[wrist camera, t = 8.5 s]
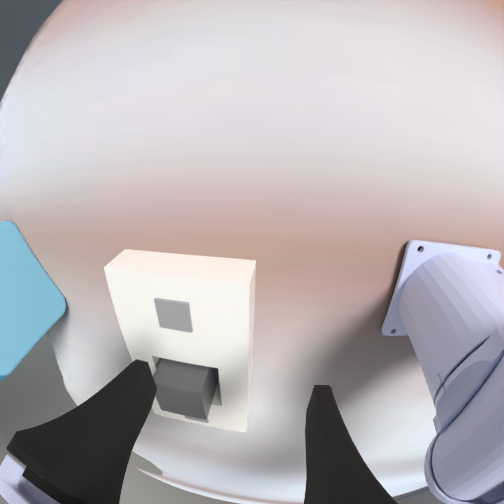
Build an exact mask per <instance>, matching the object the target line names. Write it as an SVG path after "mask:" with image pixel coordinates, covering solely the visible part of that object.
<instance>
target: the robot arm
mask: <svg viewBox="0 0 504 504" xmlns="http://www.w3.org/2000/svg"><path fill="white" fill-rule="evenodd" d="M419 246H422V248H421V249H420V250H418V251H417V249H418V247H419ZM488 255H489V256H488ZM487 256H488V257H487ZM500 257H501V254H500V252H499V251H498V250H493V249H486V248H478V247H470V246H463V245H455V244H446V243H438V242H429V241H421V240H411V241H409V243H408V244H407V246H406V250H405V254H404V258H403V262H402V266H401V269H400V273H399V277H398V280H397V283H396V287H395V290H394V293H393V297H392V300H391V303H390V306H389V309H388V312H387V315H386V318H385V320H384V323H383V326H382V329H381V331H382V334H383V335H384V336H409V339H410V341H411V343H412V346H413V348H414V351H415V353H416V356H417V358H418V361H419V363H420V366H421V368H422V371H423V374H424V376H425V379H426V382H427V385H428V387H429V390H430V393H431V396H432V399H433V402H434V405H435V409H436V412H437V413H436V416H435V417H434V419H433V422H434V425H435V429H436V432H437V435H436V436H435V437H434V438H433V440H432V442H431V443H430V445H429V447H428V450H427V452H426V456H425V463H424V473H425V478H426V482H427V484H428V487H429V489H430V490H431V492H432V493H433V494H434V495H435V496H436V497H437V498H438V499H439V500H440V501H442V502H443V503H446V504H504V270H503V269H502V268H501V267H500V266H499V265H498V263H499V260H500ZM393 329H395V330H393ZM392 330H393V331H392ZM156 392H157V387H156V384H155V381H154V378H153V375H152V373H151V370H150V367H149V364H148V362H146V361H142V360H138V359H136V360H134V361H133V362H132V363H131V364H130V365H129V366H128V367H126V368H125V369H124V370H123V371H122V372H121V373H120V374H119V375H117V376H116V377H115V378H114V379H113V380H112V381H111V382H109V383H108V384H107V385H106V386H105V387H103V388H102V389H101V390H100V391H99V392H97V393H96V394H95V395H93V396H92V397H91V398H89V399H88V400H87V401H85V402H84V403H82V404H81V405H79V406H78V407H76V408H75V409H73V410H71V411H69V412H68V413H66V414H64V415H62V416H60V417H58V418H56V419H54V420H52V421H49V422H47V423H44V424H42V425H39V426H36V427H33V428H29V429H25V430H22V431H17V432H16V433H15V435H14V437H13V438H12V440H11V441H10V443H9V445H8V446H7V450H8V451H9V452H10V453H11V454H12V455H13V456H15V457H16V458H17V459H18V460H19V461H21V462H22V463H23V464H24V465H26V466H27V467H26V469H25V468H24V467H23V466H21V465H20V464H19V463H18V462H16V461H15V460H14V459H13V458H11V457H10V456H9V455H7V456H6V457H5V459H4V461H3V462H2V464H1V466H0V494H1V495H2V496H3V497H4V498H5V499H6V500H7V502H8V503H9V504H119V500H120V494H121V489H122V484H123V479H124V475H125V472H126V468H127V464H128V461H129V458H130V455H131V451H132V449H133V446H134V444H135V442H136V439H137V437H138V435H139V433H140V431H141V429H142V427H143V425H144V423H145V420H146V418H147V416H148V414H149V412H150V410H151V408H152V405H153V402H154V398H155V395H156ZM305 439H306V468H307V479H306V491H305V500H304V504H398V503H397V502H396V501H395V500H394V499H393V498H392V497H391V496H390V495H389V494H388V493H387V491H386V490H385V489H384V488H383V487H382V485H381V484H380V483H379V482H378V480H377V479H376V478H375V477H374V475H373V474H372V472H371V471H370V469H369V468H368V467H367V465H366V463H365V462H364V460H363V459H362V457H361V455H360V454H359V452H358V450H357V448H356V446H355V445H354V443H353V441H352V439H351V437H350V435H349V433H348V431H347V428H346V426H345V424H344V422H343V419H342V417H341V415H340V412H339V409H338V407H337V404H336V401H335V398H334V395H333V392H332V389H331V387H330V386H329V385H315V386H314V389H313V392H312V395H311V398H310V402H309V405H308V408H307V412H306V427H305Z"/></svg>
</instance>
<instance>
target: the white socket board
mask: <svg viewBox="0 0 504 504" xmlns="http://www.w3.org/2000/svg"><path fill="white" fill-rule="evenodd" d="M104 270H105V274H106V278H107V282H108V286H109V290H110V294H111V298H112V301H113V305H114V308H115V312H116V315H117V318H118V321H119V325H120V328H121V331H122V334H123V337H124V340H125V343H126V345H127V348H128V351H129V354H130V357H131V359H132V362H133V361H134V360H136V359H138V360H142V361H146V362H148V364H149V367H150V370H151V373H152V375H154V373H155V371H156V369H157V367H158V365H159V363H160V361H161V359H162V358H165V359H169V360H174V361H179V362H184V363H190V364H195V365H201V366H207V367H214V368H218V372H219V380H218V384H217V387H216V390H215V394H214V397H213V401H212V404H211V407H210V411H209V414H208V418H207V420H204V419H198V418H193V417H189V416H184V415H180V414H175V413H171V412H167V411H163V410H161V408H160V406H159V404H158V401H157V399H156V397H155V398H154V402H153V405H152V410H153V412H154V414H157V415H160V416H164V417H168V418H172V419H176V420H180V421H184V422H189V423H193V424H198V425H203V426H208V427H214V428H219V429H225V430H232V431H239V432H247V429H248V424H249V418H250V412H251V395H252V367H253V339H254V310H255V280H256V260H246V259H233V258H221V257H209V256H197V255H185V254H174V253H162V252H151V251H139V250H128V249H125V250H124V251H122V252H121V253H120V254H119V255H118V256H117V257H115V258H114V259H113V260H112V261H111V262H110V263H108V264H107V265H106V266H105V267H104Z"/></svg>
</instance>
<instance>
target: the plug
mask: <svg viewBox="0 0 504 504" xmlns="http://www.w3.org/2000/svg"><path fill="white" fill-rule="evenodd" d="M153 378H154V381H155V384H156V387H157V392H156V395H155V397H156V399H157V401H158V404H159V406H160V408H161V410H163V411H167V412H171V413H175V414H180V415H184V416H189V417H193V418H198V419H204V420H207V418H208V414H209V411H210V407H211V404H212V401H213V397H214V394H215V390H216V387H217V384H218V380H219V372H218V368H214V367H207V366H201V365H195V364H190V363H184V362H179V361H174V360H169V359H165V358H162V359H161V361H160V363H159V365H158V367H157V369H156V371H155V373H154V375H153Z"/></svg>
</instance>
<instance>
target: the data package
mask: <svg viewBox="0 0 504 504" xmlns="http://www.w3.org/2000/svg"><path fill="white" fill-rule="evenodd" d="M65 310H66V301H65V298H64V296H63V295H62V293H61V292H60V291H59V289H58V288H57V287H56V285H55V284H54V283H53V281H52V280H51V278H50V277H49V276H48V274H47V273H46V271H45V270H44V269H43V267H42V266H41V264H40V263H39V261H38V260H37V258H36V257H35V255H34V254H33V252H32V251H31V249H30V247H29V246H28V244H27V243H26V241H25V239H24V238H23V236H22V234H21V233H20V231H19V229H18V228H17V226H16V225H15V224H14V223H12V222H10V221H1V222H0V380H3V379H5V378H6V377H7V376H8V375H9V374H10V373H11V372H12V371H13V370H14V369H15V368H16V367H17V365H18V364H19V363H20V362H21V361H22V360H23V358H24V357H25V356H26V355H27V354H28V353H29V351H30V350H31V349H32V348H33V347H34V346H35V345H36V344H37V342H38V341H39V340H40V339H41V338H42V337H43V336H44V335H45V334H46V333H47V331H48V330H49V329H50V328H51V327H52V326H53V325H54V324H55V323H56V322H57V321H58V320H59V319H60V318H61V317H62V316H63V314H64V313H65Z"/></svg>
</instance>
